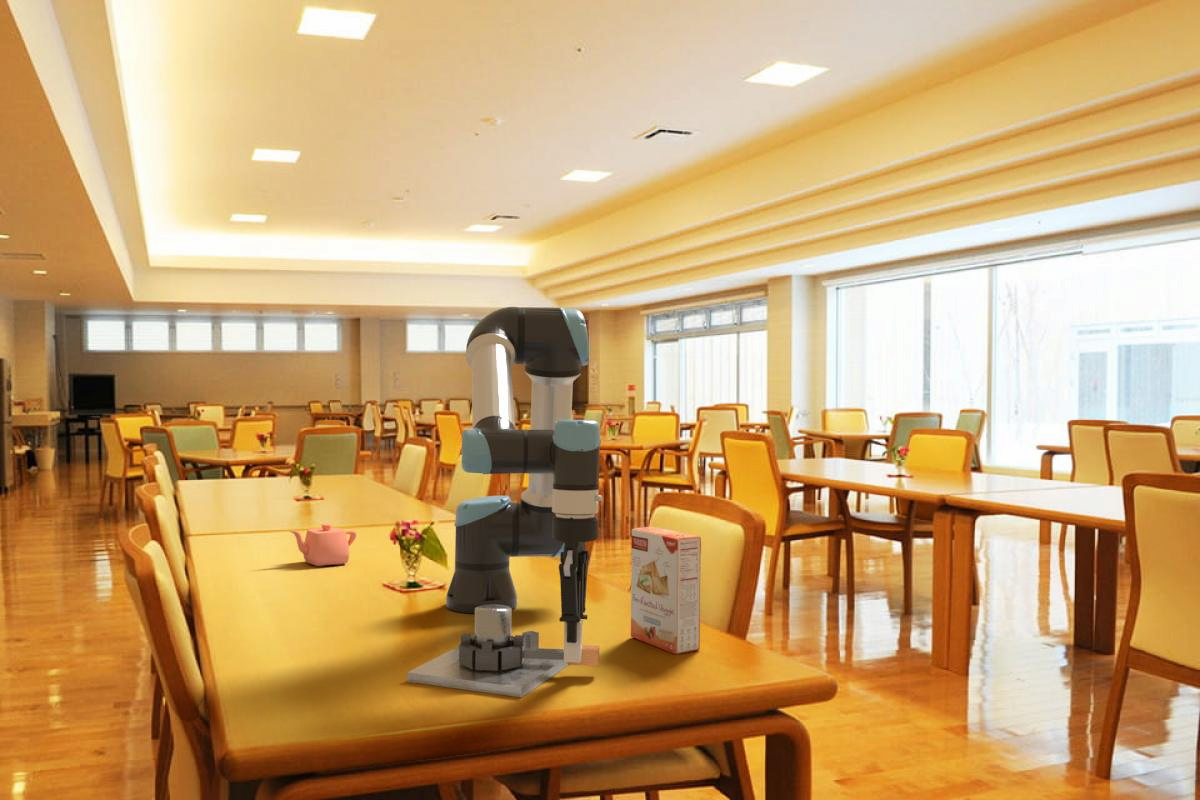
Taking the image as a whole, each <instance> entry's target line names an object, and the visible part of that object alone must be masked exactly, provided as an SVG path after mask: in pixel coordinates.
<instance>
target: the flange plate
mask: <svg viewBox="0 0 1200 800" xmlns="http://www.w3.org/2000/svg"><path fill="white" fill-rule="evenodd" d="M512 611H513V609H512V608H511V607H510V606H506V605H499V604H490V605H481V606H478V607H476V608H475V613H474V637H475V646H474V647H477V648H480V649H482V643H483V642H484V641H492V642H494V649H501V648H506V647H511V636H512ZM521 633H522V634H521V635H525V641H526V648H540V647H539V644H540V643H539V641H540V640H539V639H540V638H539V637H540V635H539V634H540V633H539V632H537V631H534V630H527V631H524V632H521ZM567 667H569V665H567V662H564V660H552V659H525V661H524V663H523V665H520V666H519V667H515V668H510V669H506V670H498V671H493V670H475V669H470V668H468V667H465V666H463V665H461V664H460V663H459V646H457V647H455V648H452V649H451V650H449V651H447V652H445V653H442V654H441V655H439V656H437V657H435V658H432V659H430V660H429V661H427V662H425V663H423V664H420V665H419V666H417V667H415V668H413V669H411V670H409V671H407V673H406V675H407V677H406V682H408V683H415V684H420V685H428V686H435V687H442V688H449V689H458V690H465V691H471V692H477V693H478V692H479V693H485V694H492V695H502V696H509V697H513V698H523V697H525V696H526V695H528V694H529V693H531V692H532V691H533V690H534V689H536V688H538V687H539V686H540V685H543V683H545V682H546V681H548V680H549V679H551V678H552V677H554V676H555V675H557V674H558V673H559V672H561V671H562V670H564V669H566V668H567Z"/></svg>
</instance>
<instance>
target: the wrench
mask: <svg viewBox="0 0 1200 800" xmlns="http://www.w3.org/2000/svg"><path fill="white" fill-rule="evenodd" d="M474 646H475V636H473V633H464V632H463V633H462V634H461V635H460V643H459V645H458V647H459V663H460V664H461V665H463V666H465V667H468V668H470V669H475V670H493V671H498V670H506V669H510V668H515V667H519V666H520V665H523V663H524V661H525V659H552V660H564V648H544V647H542V648H540V647H539V648H526V641H525V635H522V634H521V635H519V634H517V635H516V634H515V635H511V647H506V648H501V649H494V642H492V641H484V642H483V643H482V649H480V648H477V647H474ZM599 663H600V645H591V644H588V645H587V644H585V645H584V644H582V661H581V662H580V663H575V662H567V665H568V666H589V667H599Z"/></svg>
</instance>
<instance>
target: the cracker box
mask: <svg viewBox="0 0 1200 800" xmlns="http://www.w3.org/2000/svg"><path fill="white" fill-rule="evenodd" d="M701 554H702V537H701V536H700V535H699V536H698V535H694V534H690V533H686V532H681V531H677V530H676V531H675V530H671V529H667V528H663V527H658V526H645V527H643V526H642V527H634V528H632V529H631V561H630V562H631V563H630V564H631V569H630V570H631V571H630V572H631V573H630V575H631V577H630V578H631V579H630V580H631V581H630V583H631V585H630V587H631V588H630V589H631V590H630V637H631V638H633V639H635V638H636V640H638V641H641V642H643V643H646V644H648V645H651V646H654V647H656V648H658V649H660V650H661V649H662V650H664V651H666V652H668V653H671V654H674V655H680V654H684V653H685V654H686V653H690V652H695V651H696V652H697V651H700V648H701V576H702V573H701V571H702V570H701V568H702V566H701V564H702V562H701V561H702V560H701V558H702V557H701V556H702V555H701Z"/></svg>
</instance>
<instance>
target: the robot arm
mask: <svg viewBox="0 0 1200 800" xmlns="http://www.w3.org/2000/svg"><path fill="white" fill-rule="evenodd" d="M465 354H466V355H465V356H466V361H467V364H468V366H469V367H470V368H471V404H472V405H471V407H472V408H471V412H472V413H471V414H472V418H471V419H472V421H471V422H472V423H471V424H472V428H470V429H469V428H468V429H465V430H463V431H462V434H461V468H462V470H463V472H465V473H469V474H471V473H472V474H482V475H494V474H495V475H496V474H497V475H498V474H499V475H502V474H503V475H504V474H506V475H508V474H510V475H511V474H528V486H527V488H526V489H525V490H523V491H522V492H521V494H520V502H512V499H511V498H510V496H509V495H504V494H503V495H489V496H488V495H487V496H481V497H476V498H471V499H467V500H464V501H462V502H460V503H459V504H458V505H457V506H456V509H455V522H454V527H455V547H454V571H453V575H452V578H451V582H450V584H449V586H448V588H447V589H448V590H447V593H446V596H445V597H446V598H445V607H446V609H448V610H450V611H453V612H458V613H466V614H475V608H476V607H478V606H481V605H490V604H499V605H506V606H510V607H511V608H512V610H513V609H515V608H516V607H517V606H518V595H517V590H516V586H515V584H514V581H513V577H512V574H511V572H510V558H516V557H517V558H519V557H520V558H522V557H528V558H529V557H536V558H537V557H539V558H540V557H541V558H542V557H543V558H545V557H547V558H555V557H560V558H559V561H560V563H559V564H558V573H559V577H560V579H559V585H560V603H561V616H560V617H559V622H562V623H563V622H564V624H563V625H564V628H563V630H564V631H563V633H564V634H563V635H564V636H563V649H564V662H575V663H580V662H581V661H582V645H583V622H584V621H583V620H587V619H588V614H584V613H585V612H586V602H587V601H586V598H587V584H588V583H587V581H588V567H589V562H590V561H589V559H590V553H589V552H590V551H589V550H586V548H587V545H586V543H588V542H593V541H596V540H597V539H598V538H599V519H600V518H598V516H596V515H597V514H598V513H599V502H602V501H603V496H602V495H601V494H599V491H600V490H599V488H600V455H601V454H600V452H601V450H600V448H601V444H602V439H601V435H600V434H601V431H600V430H601V429H600V428H601V427H600V424H599V422H597V421H596V420H593V419H591V420H590V419H572V413H573V409H572V407H573V386H574V384H573V383H574V381H575V380H576V379H578V378H579V377H580V376H581V372H582V367H585V366H588V364H589V363H590V345H589V335H588V328H587V323H586V319H585V317H584V314H583V313H582V312H581V310H579V309H575V308H564V307H547V306H545V307H543V306H542V307H541V306H540V307H539V306H538V307H532V306H531V307H530V306H529V307H525V306H523V307H521V306H519V307H518V306H508V307H507V306H506V307H502V308H499V309H497V310H494V311H492V312H490V313H489V314H487V315H486V316H484V317H483V318H482V319H481V320H480V321H479V322H478V323H477V324H475V327H474V328H473V329H472V331H471V332H470V333H469V336H468V339H467V342H466V348H465ZM513 364H514V365H524V373H525V375H527V376H528V377H529V378H530V381H531V394H530V395H531V400H530V428H529V429H516V418H515V404H514V403H515V402H514V390H513V379H512V377H513V376H512V375H513V374H512V366H513Z"/></svg>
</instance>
